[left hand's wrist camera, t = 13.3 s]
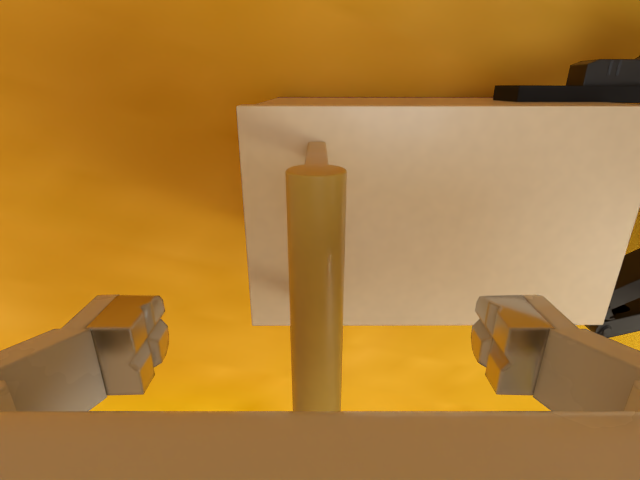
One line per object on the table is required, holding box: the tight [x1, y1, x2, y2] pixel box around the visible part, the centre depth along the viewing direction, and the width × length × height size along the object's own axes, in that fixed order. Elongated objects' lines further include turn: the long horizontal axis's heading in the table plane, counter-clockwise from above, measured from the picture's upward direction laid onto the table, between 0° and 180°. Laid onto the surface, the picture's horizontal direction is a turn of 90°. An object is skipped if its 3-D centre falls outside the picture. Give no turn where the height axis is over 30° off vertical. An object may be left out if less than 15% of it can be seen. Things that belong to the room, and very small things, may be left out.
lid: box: [236, 104, 640, 411], centre depth 14 cm, size 17×10×8 cm, turn 90°
